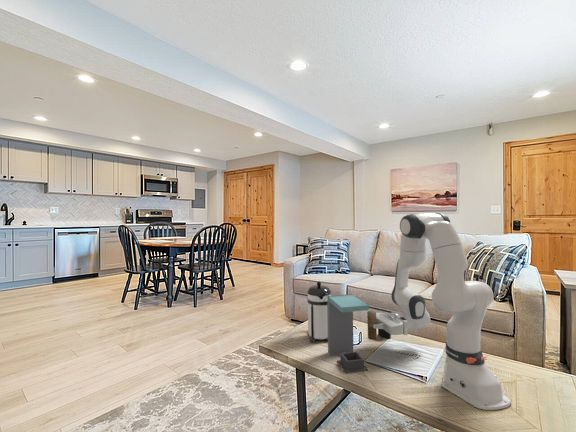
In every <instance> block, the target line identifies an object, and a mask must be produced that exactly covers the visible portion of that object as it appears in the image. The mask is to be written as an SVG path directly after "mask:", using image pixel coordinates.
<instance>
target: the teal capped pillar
mask: <svg viewBox="0 0 576 432" xmlns="http://www.w3.org/2000/svg"><path fill="white" fill-rule="evenodd" d="M327 305H328V340H327V353H328V354H329V355H336V354H337V355H338V354H340V353H348V352H354V312H363V311H370V310H369V309H370V308H369V304H367V303H366V302H364V301H363V300H361V299H359V298H358V297H356V296H354V295H353V294H352V293H350V294H336V295H335V294H333V295H331V296H327Z"/></svg>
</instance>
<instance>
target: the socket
mask: <svg viewBox="0 0 576 432" xmlns="http://www.w3.org/2000/svg"><path fill="white" fill-rule="evenodd" d="M339 354H340V359H337V360H336V363H337V364H338V365H339V366H340V368H341V369H342V370H343V372H344V373H345V374H350V373H351V374H352V373H361V372H368V371H369V368H368V367H367V366H366V365H365V359H364V358H363V357H362V356H361V355H360V353H359V352H358V351H353V352H348V353H339Z"/></svg>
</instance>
